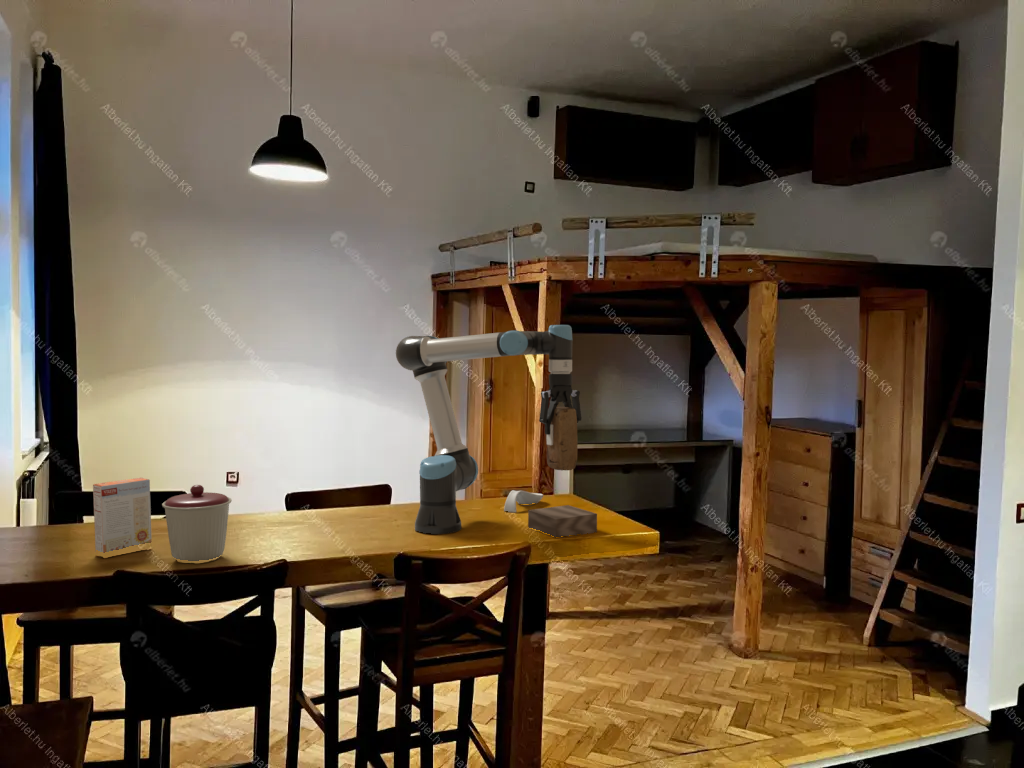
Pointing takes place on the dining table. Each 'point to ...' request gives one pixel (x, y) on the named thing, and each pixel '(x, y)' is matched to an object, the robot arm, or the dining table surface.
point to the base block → (562, 521)
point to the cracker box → (122, 514)
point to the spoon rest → (520, 499)
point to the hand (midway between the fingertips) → (560, 443)
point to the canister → (197, 524)
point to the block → (563, 440)
